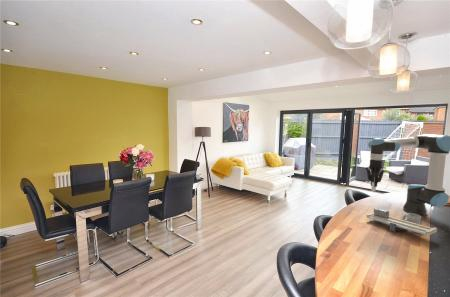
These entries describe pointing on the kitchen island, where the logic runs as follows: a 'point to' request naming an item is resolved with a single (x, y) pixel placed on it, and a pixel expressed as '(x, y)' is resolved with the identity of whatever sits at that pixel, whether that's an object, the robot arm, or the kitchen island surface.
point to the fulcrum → (395, 227)
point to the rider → (381, 213)
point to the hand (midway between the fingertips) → (373, 190)
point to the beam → (404, 224)
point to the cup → (413, 218)
